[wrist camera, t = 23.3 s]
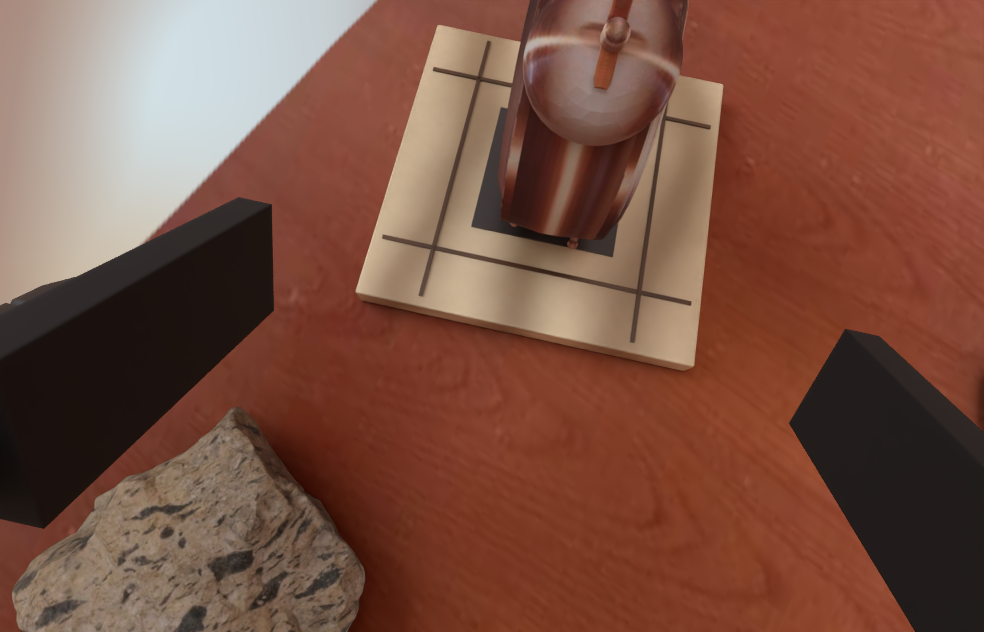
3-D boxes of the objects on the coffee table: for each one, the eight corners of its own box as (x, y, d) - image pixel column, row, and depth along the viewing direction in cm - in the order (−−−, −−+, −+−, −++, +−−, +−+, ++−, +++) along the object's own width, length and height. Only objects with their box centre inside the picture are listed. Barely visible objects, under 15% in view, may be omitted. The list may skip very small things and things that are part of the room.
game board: (359, 300, 25) (353, 291, 24) (438, 41, 30) (437, 22, 29) (684, 371, 25) (695, 366, 24) (714, 99, 29) (725, 82, 28)
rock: (177, 810, 19) (100, 902, 15) (42, 555, 21) (-57, 575, 17) (410, 610, 22) (398, 643, 18) (267, 398, 24) (227, 383, 20)
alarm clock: (584, 289, 24) (749, 34, 10) (484, 267, 25) (506, -17, 10) (618, 100, 28) (780, -301, 13) (529, 81, 28) (594, -338, 13)
